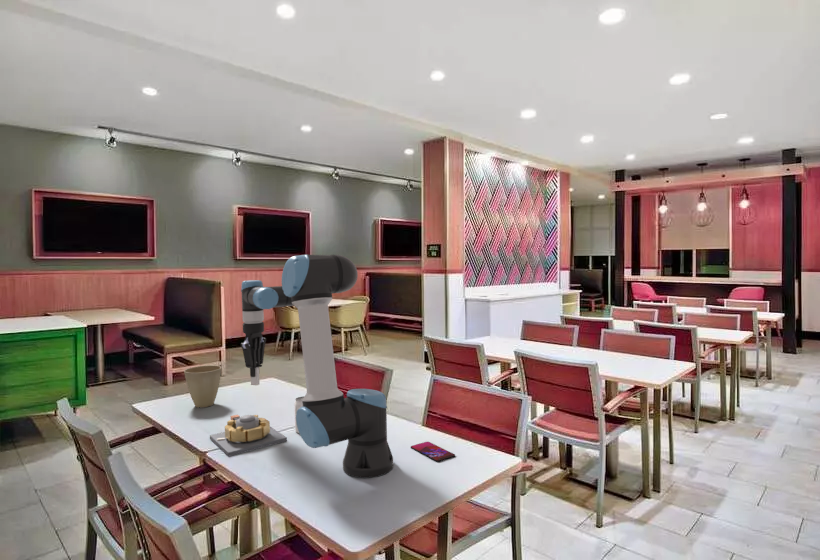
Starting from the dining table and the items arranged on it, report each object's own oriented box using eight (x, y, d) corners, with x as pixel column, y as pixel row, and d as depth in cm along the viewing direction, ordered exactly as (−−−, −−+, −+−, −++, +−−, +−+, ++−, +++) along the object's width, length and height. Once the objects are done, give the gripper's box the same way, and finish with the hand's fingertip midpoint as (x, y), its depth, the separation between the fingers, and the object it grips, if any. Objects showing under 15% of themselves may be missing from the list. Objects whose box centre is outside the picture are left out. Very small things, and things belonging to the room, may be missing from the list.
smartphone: (428, 441, 167) (456, 454, 154) (428, 443, 167) (456, 457, 154) (409, 446, 162) (437, 461, 150) (409, 448, 162) (437, 463, 150)
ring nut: (274, 434, 170) (274, 422, 170) (234, 445, 162) (233, 431, 161) (252, 419, 187) (252, 407, 187) (214, 428, 178) (214, 415, 178)
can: (309, 434, 176) (308, 401, 175) (292, 433, 177) (291, 400, 176) (316, 428, 182) (315, 396, 181) (299, 427, 183) (298, 395, 183)
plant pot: (229, 400, 219) (228, 365, 218) (208, 411, 204) (207, 373, 204) (200, 399, 222) (198, 364, 221) (177, 409, 208) (176, 372, 207)
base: (286, 440, 170) (286, 418, 170) (228, 456, 158) (227, 431, 157) (264, 425, 186) (264, 404, 185) (209, 438, 173) (209, 416, 173)
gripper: (254, 319, 189) (256, 379, 191) (233, 324, 177) (235, 388, 178) (271, 319, 187) (273, 380, 188) (251, 324, 174) (253, 390, 176)
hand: (255, 384), depth 183 cm, fingers closed
